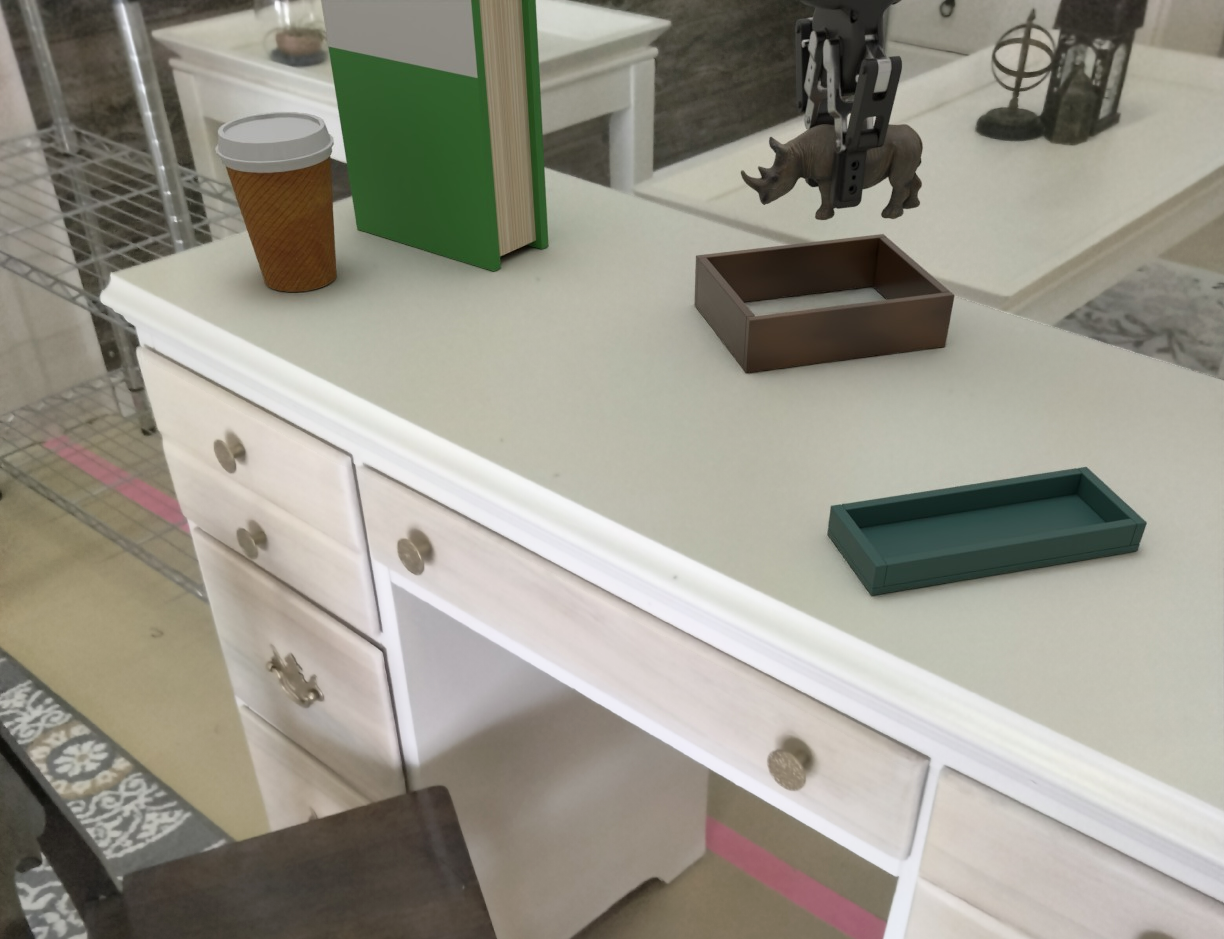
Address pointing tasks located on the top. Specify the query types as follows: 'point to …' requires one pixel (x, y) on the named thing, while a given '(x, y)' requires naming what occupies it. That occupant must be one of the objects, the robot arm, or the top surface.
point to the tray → (983, 529)
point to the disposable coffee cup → (284, 195)
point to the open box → (821, 333)
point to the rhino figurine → (815, 161)
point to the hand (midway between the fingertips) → (832, 193)
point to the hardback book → (442, 122)
